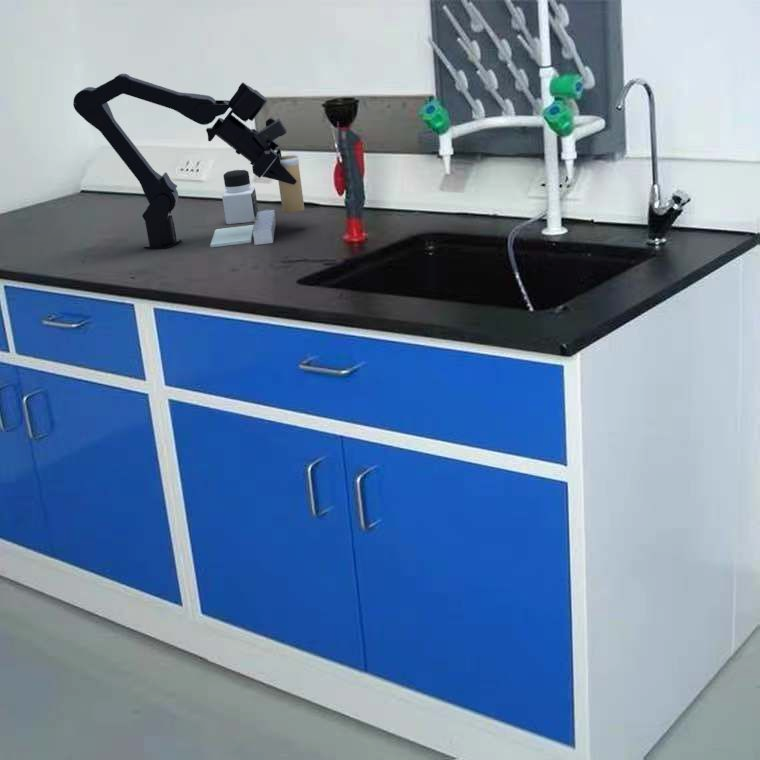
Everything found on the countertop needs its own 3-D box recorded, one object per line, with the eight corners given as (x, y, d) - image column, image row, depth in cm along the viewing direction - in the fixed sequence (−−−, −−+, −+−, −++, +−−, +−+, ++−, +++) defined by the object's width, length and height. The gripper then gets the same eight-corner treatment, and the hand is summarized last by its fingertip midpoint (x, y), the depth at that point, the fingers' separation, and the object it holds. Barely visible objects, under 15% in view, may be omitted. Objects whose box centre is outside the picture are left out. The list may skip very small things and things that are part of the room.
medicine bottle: (255, 221, 302) (248, 172, 298) (226, 224, 303) (218, 175, 299) (259, 215, 309) (252, 166, 305) (230, 218, 309) (222, 169, 306)
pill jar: (298, 212, 284) (291, 159, 280) (278, 213, 286) (270, 160, 282) (308, 207, 289) (302, 155, 285) (288, 207, 291) (282, 155, 287)
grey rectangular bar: (272, 242, 279) (271, 229, 278) (254, 245, 278) (252, 231, 277) (276, 219, 302) (274, 207, 301) (259, 221, 302) (257, 209, 301)
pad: (210, 247, 281) (210, 244, 281) (216, 231, 296) (215, 229, 296) (250, 242, 281) (250, 239, 281) (254, 227, 296) (253, 224, 296)
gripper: (260, 114, 271) (317, 159, 275) (263, 103, 289) (317, 146, 292) (229, 154, 273) (286, 199, 277) (234, 142, 291) (288, 184, 295)
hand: (295, 180), depth 285 cm, fingers closed on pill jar, 5 cm apart
